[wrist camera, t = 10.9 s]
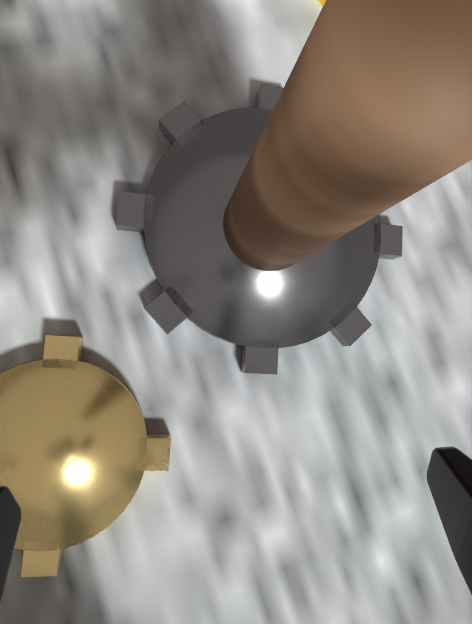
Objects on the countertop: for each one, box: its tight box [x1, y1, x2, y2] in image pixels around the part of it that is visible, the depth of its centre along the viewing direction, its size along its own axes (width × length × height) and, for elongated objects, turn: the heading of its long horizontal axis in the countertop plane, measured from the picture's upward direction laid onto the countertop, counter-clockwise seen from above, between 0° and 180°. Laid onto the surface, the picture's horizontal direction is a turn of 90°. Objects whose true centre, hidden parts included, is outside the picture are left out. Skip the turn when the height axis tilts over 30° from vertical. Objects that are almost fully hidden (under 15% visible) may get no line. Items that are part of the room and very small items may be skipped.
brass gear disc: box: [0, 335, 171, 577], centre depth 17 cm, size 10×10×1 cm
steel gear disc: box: [116, 84, 402, 374], centre depth 20 cm, size 14×14×1 cm
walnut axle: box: [223, 0, 472, 271], centre depth 13 cm, size 4×4×13 cm
